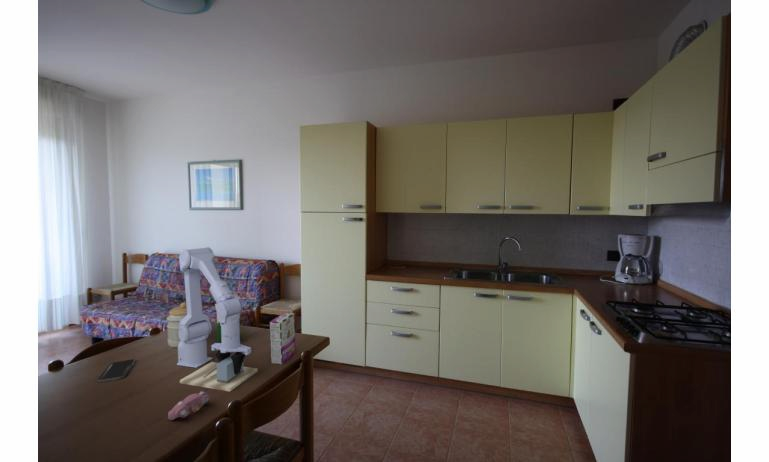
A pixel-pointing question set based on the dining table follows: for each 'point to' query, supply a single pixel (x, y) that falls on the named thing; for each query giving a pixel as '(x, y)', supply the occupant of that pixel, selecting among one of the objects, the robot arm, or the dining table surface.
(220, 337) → the milk carton
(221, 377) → the block
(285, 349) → the candy bar box
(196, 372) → the marked board
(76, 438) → the dining table surface
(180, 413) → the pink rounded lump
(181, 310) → the jar
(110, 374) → the phone
